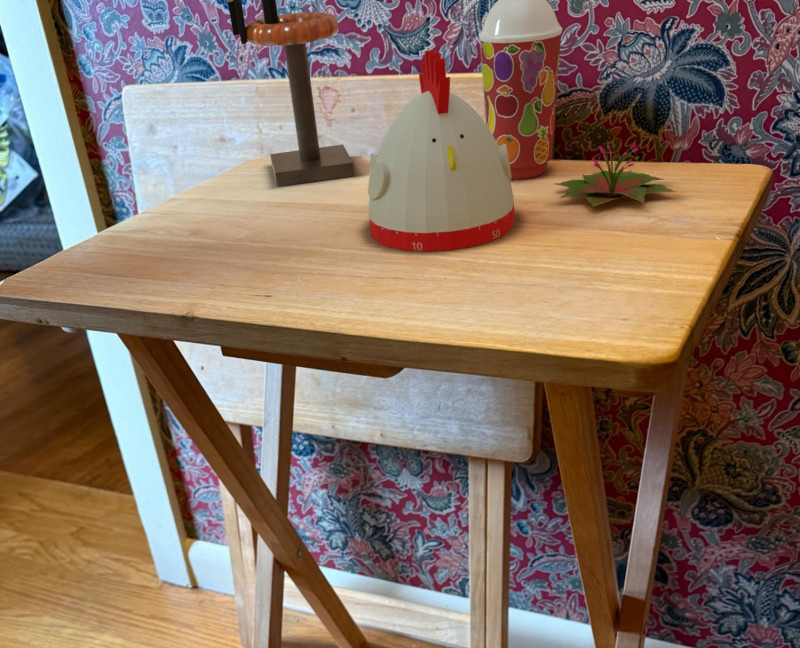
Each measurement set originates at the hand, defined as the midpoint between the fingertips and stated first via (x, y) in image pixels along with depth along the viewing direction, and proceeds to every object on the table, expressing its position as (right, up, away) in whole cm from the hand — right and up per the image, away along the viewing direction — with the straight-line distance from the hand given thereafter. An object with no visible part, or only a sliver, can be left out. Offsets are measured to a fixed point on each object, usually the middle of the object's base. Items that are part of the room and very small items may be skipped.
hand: (257, 38), depth 97 cm
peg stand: (+5, -11, +9) cm, 15 cm away
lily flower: (+37, -20, -7) cm, 42 cm away
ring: (+4, +1, 0) cm, 4 cm away
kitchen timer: (+20, -24, -11) cm, 33 cm away
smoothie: (+29, -14, +2) cm, 32 cm away
